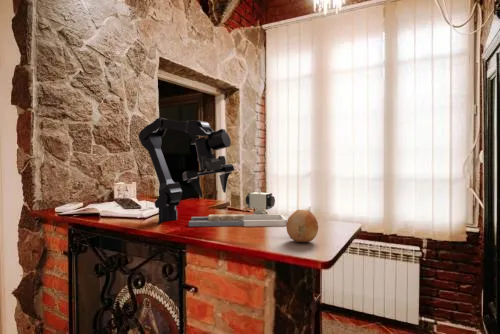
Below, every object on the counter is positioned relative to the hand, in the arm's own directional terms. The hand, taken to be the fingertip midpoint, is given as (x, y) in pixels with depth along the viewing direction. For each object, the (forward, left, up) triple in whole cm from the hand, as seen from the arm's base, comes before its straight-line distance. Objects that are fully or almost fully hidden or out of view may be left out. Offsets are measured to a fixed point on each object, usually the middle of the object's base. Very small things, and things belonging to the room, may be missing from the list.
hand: (213, 194), depth 114 cm
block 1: (0, +3, -11) cm, 12 cm away
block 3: (+9, +3, -11) cm, 15 cm away
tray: (+19, +3, -12) cm, 23 cm away
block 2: (+5, +3, -11) cm, 13 cm away
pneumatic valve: (+19, +15, -12) cm, 27 cm away
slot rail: (+1, +3, -12) cm, 13 cm away
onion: (+28, -21, -12) cm, 37 cm away
